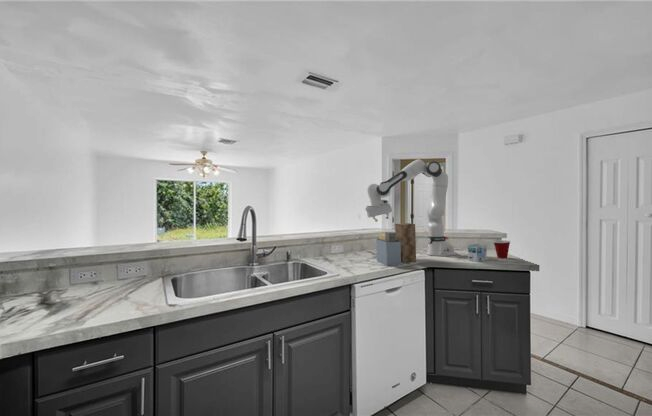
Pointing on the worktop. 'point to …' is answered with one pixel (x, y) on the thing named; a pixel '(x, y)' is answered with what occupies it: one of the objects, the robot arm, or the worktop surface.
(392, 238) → the ochre bar
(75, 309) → the worktop surface
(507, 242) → the plastic cup
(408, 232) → the walnut post
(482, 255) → the light bulb box
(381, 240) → the slate ledge
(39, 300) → the worktop surface
